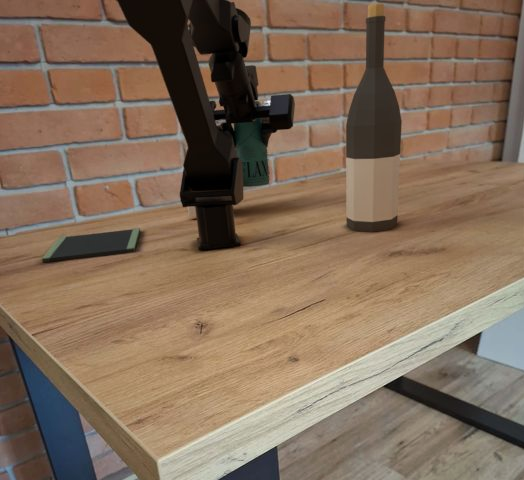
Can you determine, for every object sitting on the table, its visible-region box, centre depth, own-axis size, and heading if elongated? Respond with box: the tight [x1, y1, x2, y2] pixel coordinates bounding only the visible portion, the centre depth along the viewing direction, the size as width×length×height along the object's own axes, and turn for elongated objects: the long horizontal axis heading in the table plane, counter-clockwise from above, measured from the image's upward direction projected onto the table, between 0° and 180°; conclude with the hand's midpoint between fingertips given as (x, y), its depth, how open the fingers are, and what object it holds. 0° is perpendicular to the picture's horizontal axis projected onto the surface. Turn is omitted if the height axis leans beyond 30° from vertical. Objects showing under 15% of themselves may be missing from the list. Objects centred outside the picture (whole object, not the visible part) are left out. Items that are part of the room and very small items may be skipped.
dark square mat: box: [41, 227, 141, 263], centre depth 85 cm, size 14×14×1 cm
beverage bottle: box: [232, 90, 271, 188], centre depth 99 cm, size 6×7×20 cm
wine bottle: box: [345, 2, 403, 233], centre depth 76 cm, size 8×8×30 cm
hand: (252, 146), depth 101 cm, fingers closed on beverage bottle, 5 cm apart
